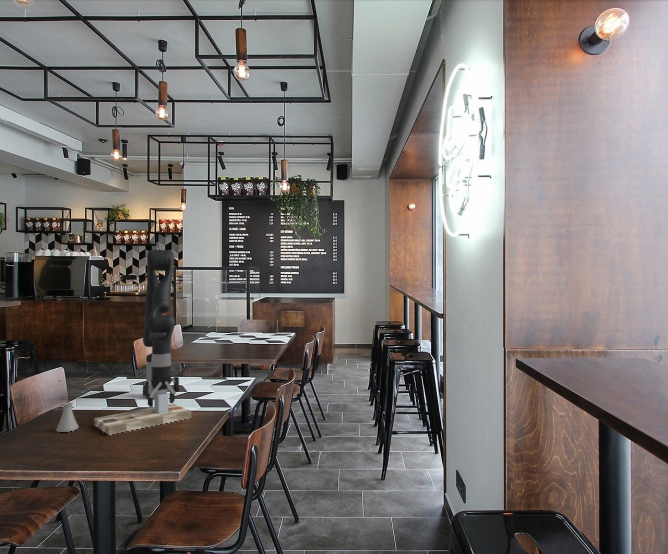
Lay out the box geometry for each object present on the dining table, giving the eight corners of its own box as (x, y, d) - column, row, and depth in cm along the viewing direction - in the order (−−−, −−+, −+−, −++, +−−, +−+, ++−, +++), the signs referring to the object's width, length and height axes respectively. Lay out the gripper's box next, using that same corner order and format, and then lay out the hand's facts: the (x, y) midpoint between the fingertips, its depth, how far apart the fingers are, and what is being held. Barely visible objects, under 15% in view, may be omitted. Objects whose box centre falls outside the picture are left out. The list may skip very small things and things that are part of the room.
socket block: (94, 426, 189) (94, 417, 189) (173, 410, 211) (173, 403, 211) (108, 435, 178) (108, 426, 178) (191, 418, 199) (191, 410, 199)
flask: (83, 428, 186) (83, 402, 186) (67, 434, 179) (67, 406, 179) (68, 426, 188) (68, 400, 188) (51, 432, 182) (51, 405, 182)
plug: (154, 418, 199) (154, 394, 199) (163, 416, 202) (163, 392, 202) (158, 420, 196) (158, 395, 196) (168, 418, 199) (168, 394, 199)
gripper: (174, 361, 207) (173, 400, 207) (140, 365, 197) (139, 406, 197) (182, 363, 201) (182, 403, 201) (147, 367, 192) (147, 409, 191)
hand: (161, 404), depth 199 cm, fingers open, 8 cm apart
